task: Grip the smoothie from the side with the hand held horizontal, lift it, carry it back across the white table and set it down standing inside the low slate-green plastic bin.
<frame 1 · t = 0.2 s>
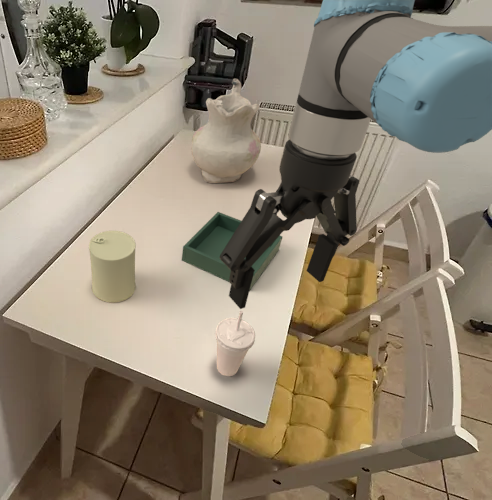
hand: (277, 288, 60), 22 cm above the table, tool pointing down, fingers open, 13 cm apart
smoothie: (227, 367, 76), on the table
can: (113, 287, 91), on the table
bin: (231, 255, 99), on the table
ceramic pitcher: (220, 172, 128), on the table
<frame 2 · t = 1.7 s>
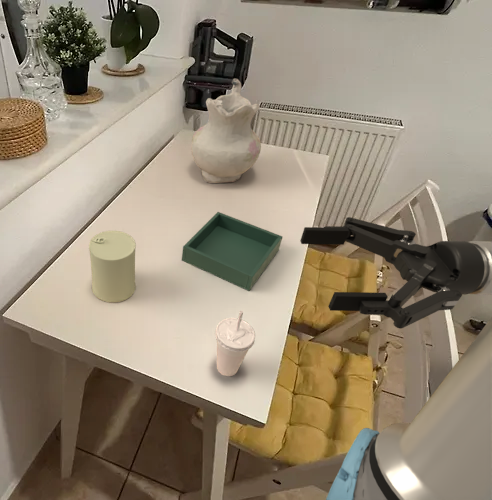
hand: (316, 265, 61), 24 cm above the table, tool horizontal, fingers open, 13 cm apart
nothing on the table moved.
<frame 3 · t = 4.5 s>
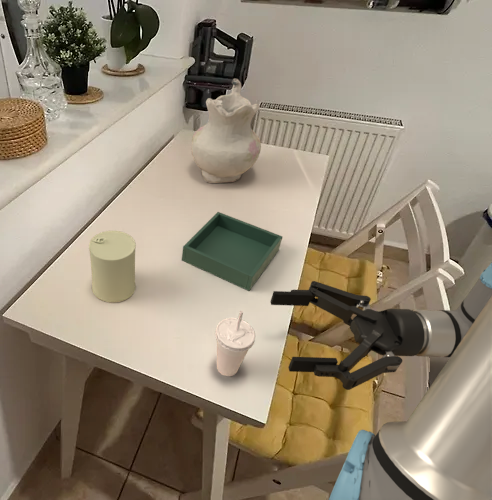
hand: (280, 328, 70), 10 cm above the table, tool horizontal, fingers open, 13 cm apart
nothing on the table moved.
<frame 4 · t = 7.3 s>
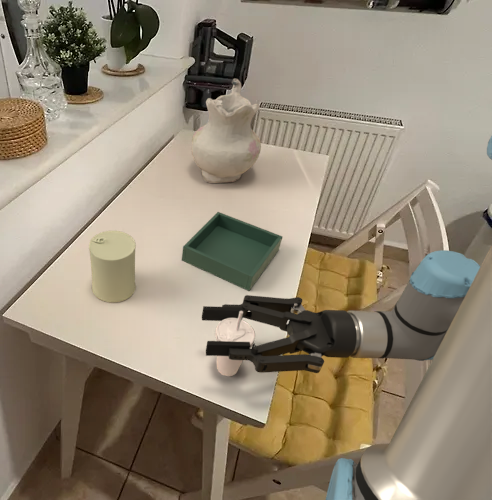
hand: (204, 330, 69), 10 cm above the table, tool horizontal, fingers closed on smoothie, 6 cm apart
smoothie: (227, 367, 76), on the table, touching gripper
everything else where it was.
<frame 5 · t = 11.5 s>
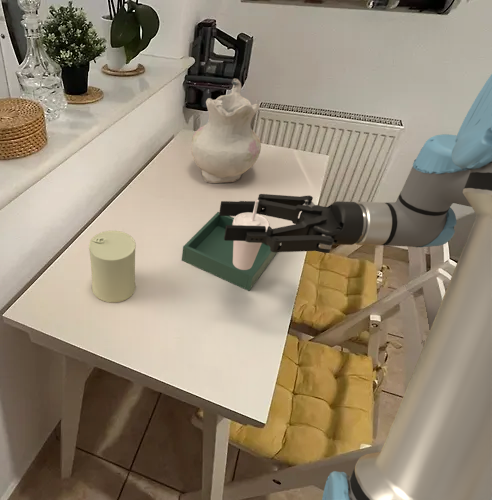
hand: (223, 220, 75), 20 cm above the table, tool horizontal, fingers closed on smoothie, 6 cm apart
smoothie: (242, 264, 82), point 10 cm above the table, touching gripper
everything else where it was.
when the fingers open (11 cm above the table, at t = 15.8 s): smoothie stays where it is, resting on bin.
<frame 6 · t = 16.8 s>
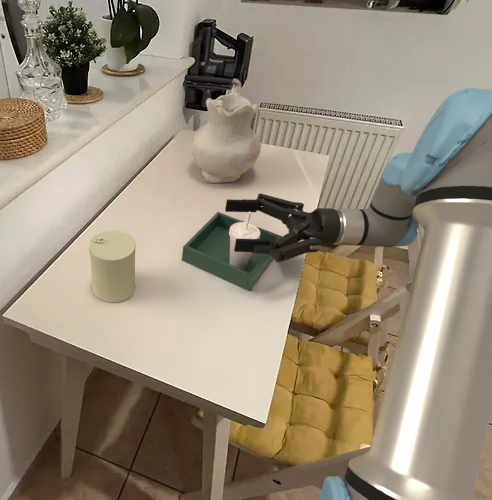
hand: (230, 224, 88), 12 cm above the table, tool horizontal, fingers open, 13 cm apart
smoothie: (237, 265, 96), resting on bin
everything else where it was.
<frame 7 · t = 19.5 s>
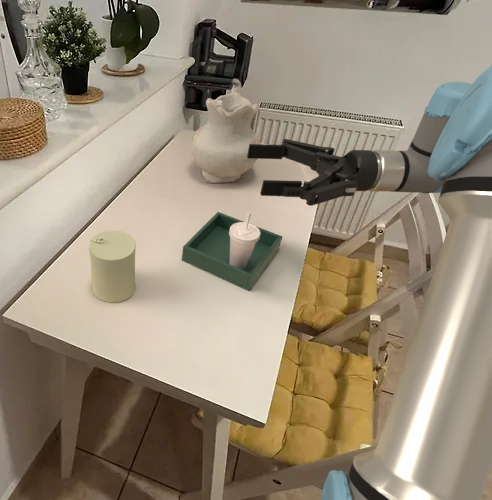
hand: (254, 168, 80), 25 cm above the table, tool horizontal, fingers open, 13 cm apart
nothing on the table moved.
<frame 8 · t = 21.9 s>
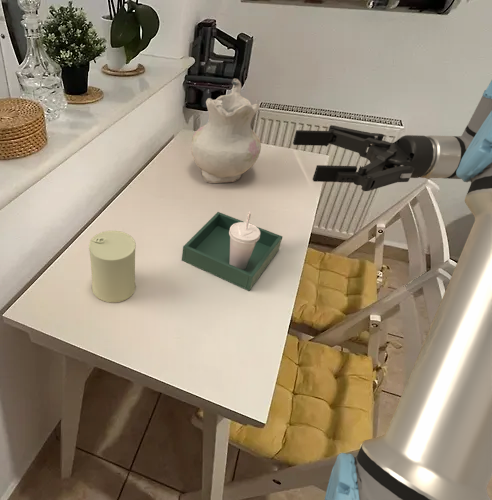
hand: (304, 154, 78), 28 cm above the table, tool horizontal, fingers open, 13 cm apart
nothing on the table moved.
at the end: smoothie inside the target area in the bin (4.2 cm from its centre), point 0.4 cm above the bin's base; smoothie tilted 0°; the gripper is holding nothing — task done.
